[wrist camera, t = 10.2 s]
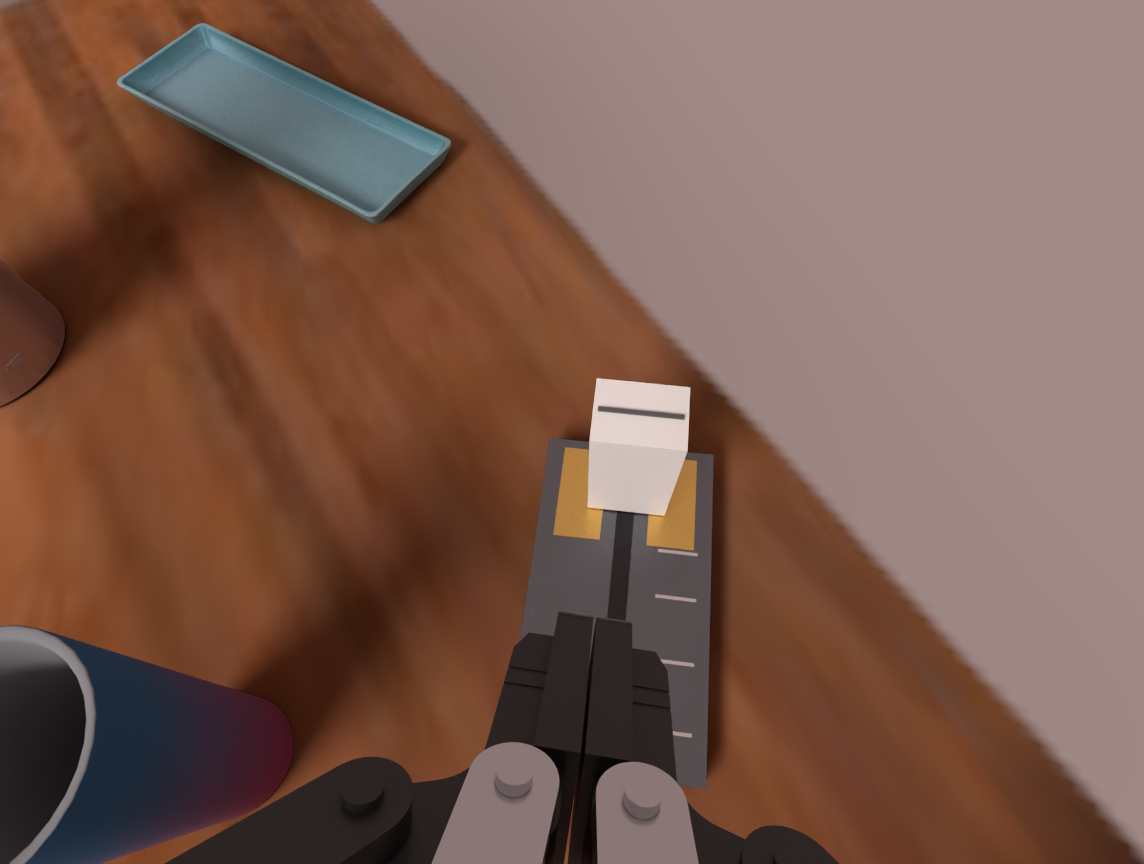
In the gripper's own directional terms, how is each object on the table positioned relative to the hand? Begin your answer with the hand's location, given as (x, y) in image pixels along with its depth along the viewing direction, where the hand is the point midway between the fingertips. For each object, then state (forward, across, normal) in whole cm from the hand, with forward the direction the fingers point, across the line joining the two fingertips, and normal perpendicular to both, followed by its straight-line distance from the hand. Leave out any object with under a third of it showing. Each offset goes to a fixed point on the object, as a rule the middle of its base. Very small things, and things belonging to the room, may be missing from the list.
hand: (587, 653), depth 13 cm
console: (+18, -2, +10) cm, 20 cm away
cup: (+12, +15, +17) cm, 26 cm away
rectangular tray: (+41, +28, -12) cm, 51 cm away
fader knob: (+20, -1, +4) cm, 21 cm away
